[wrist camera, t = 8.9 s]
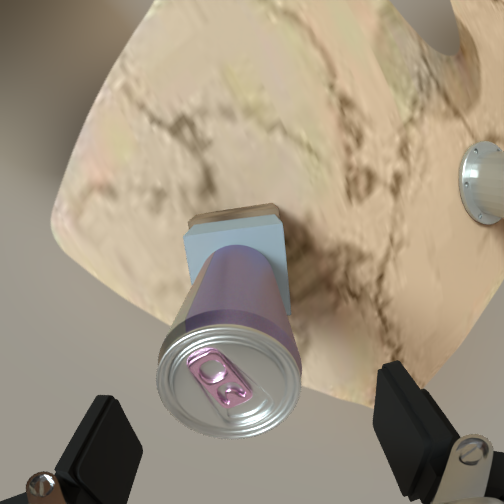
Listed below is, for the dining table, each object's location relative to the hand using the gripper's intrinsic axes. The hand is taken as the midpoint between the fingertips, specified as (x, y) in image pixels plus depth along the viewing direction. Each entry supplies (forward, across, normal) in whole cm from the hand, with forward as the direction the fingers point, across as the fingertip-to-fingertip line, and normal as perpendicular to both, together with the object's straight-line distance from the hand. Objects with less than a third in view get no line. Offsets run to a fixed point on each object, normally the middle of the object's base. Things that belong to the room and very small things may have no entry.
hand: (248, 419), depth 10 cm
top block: (+22, +1, 0) cm, 23 cm away
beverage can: (+17, +1, 0) cm, 17 cm away
